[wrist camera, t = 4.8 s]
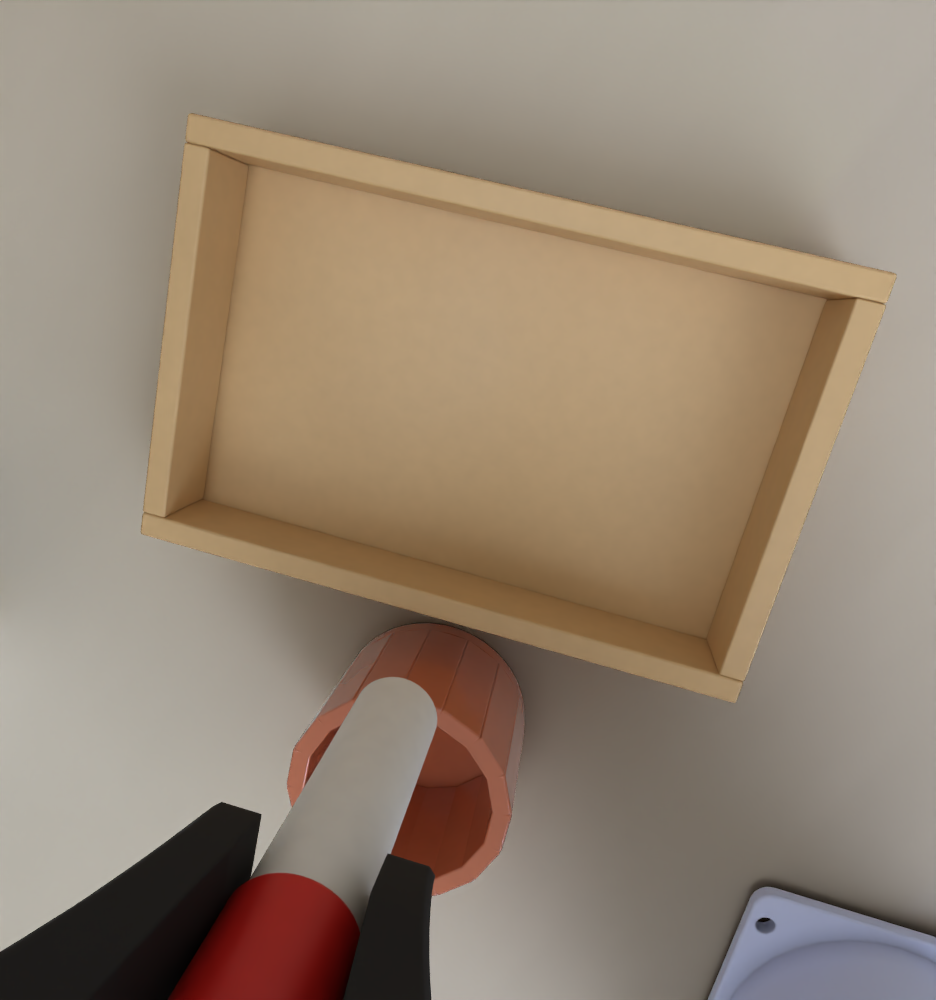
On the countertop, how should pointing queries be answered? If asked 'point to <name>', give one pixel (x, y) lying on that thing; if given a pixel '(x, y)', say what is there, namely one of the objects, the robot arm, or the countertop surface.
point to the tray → (496, 401)
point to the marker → (321, 861)
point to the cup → (440, 745)
